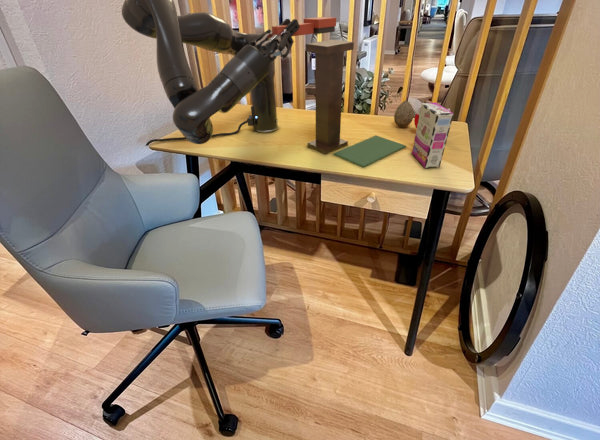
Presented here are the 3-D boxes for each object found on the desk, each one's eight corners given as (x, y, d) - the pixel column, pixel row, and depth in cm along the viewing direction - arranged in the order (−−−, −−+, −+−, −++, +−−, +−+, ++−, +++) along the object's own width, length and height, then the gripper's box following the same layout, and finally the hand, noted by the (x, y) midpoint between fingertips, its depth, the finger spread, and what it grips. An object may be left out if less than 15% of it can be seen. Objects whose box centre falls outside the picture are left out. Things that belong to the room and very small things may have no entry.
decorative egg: (389, 127, 121) (393, 101, 115) (397, 122, 126) (401, 97, 120) (407, 131, 118) (412, 104, 112) (414, 125, 122) (419, 99, 116)
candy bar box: (440, 167, 93) (455, 113, 84) (424, 169, 93) (437, 114, 83) (425, 152, 102) (436, 101, 93) (410, 153, 102) (420, 102, 92)
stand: (325, 154, 104) (326, 46, 85) (307, 146, 109) (305, 43, 90) (347, 145, 109) (353, 41, 90) (329, 138, 115) (332, 39, 96)
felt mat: (363, 167, 95) (363, 165, 95) (333, 154, 104) (333, 153, 103) (405, 147, 106) (406, 145, 106) (375, 136, 115) (375, 135, 114)
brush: (282, 38, 70) (281, 23, 68) (268, 37, 73) (267, 22, 72) (335, 31, 78) (336, 17, 77) (320, 30, 82) (321, 17, 80)
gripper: (251, 61, 63) (306, 6, 66) (219, 54, 72) (269, 6, 74) (269, 91, 69) (319, 39, 71) (237, 81, 78) (283, 35, 80)
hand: (293, 22), depth 73 cm, fingers closed on brush, 2 cm apart
